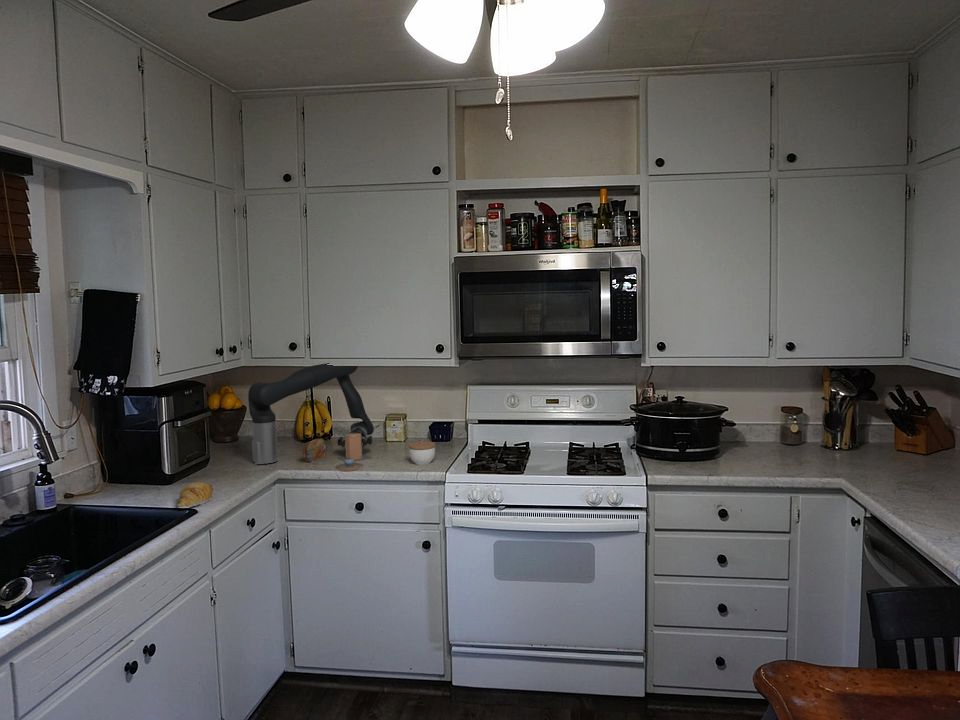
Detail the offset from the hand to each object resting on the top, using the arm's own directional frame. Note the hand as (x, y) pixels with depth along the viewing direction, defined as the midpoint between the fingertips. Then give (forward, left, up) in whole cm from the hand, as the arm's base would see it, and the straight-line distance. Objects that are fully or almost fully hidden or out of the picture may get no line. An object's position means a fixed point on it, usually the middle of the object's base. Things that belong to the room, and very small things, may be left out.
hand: (353, 444), depth 285 cm
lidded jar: (+18, -25, -7) cm, 31 cm away
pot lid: (-8, -11, -6) cm, 15 cm away
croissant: (-68, -16, -7) cm, 70 cm away
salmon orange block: (+1, +1, -6) cm, 6 cm away
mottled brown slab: (-12, +11, -7) cm, 18 cm away
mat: (+1, +1, -6) cm, 7 cm away
